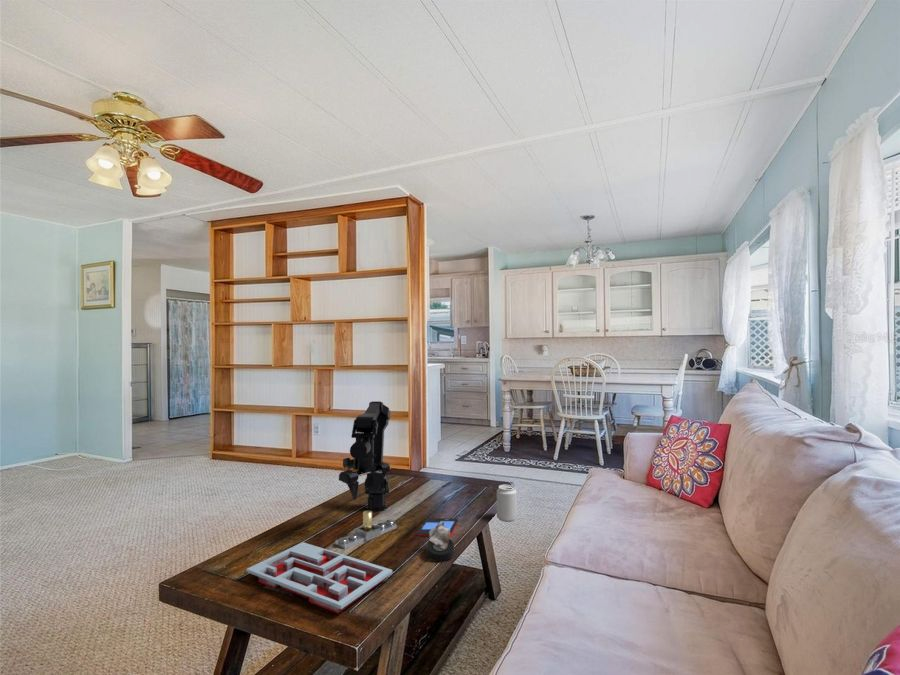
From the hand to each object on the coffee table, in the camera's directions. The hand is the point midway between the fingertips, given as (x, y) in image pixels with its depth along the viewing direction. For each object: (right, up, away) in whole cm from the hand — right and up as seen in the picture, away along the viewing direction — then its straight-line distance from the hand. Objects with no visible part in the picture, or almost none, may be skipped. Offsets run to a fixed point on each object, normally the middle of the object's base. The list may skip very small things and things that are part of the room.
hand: (365, 496), depth 155 cm
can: (+51, -12, +10) cm, 53 cm away
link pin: (+2, -11, -6) cm, 13 cm away
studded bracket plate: (+2, -11, -6) cm, 13 cm away
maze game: (-6, -11, -35) cm, 37 cm away
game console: (+26, -12, 0) cm, 28 cm away
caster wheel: (+28, -11, -19) cm, 35 cm away
